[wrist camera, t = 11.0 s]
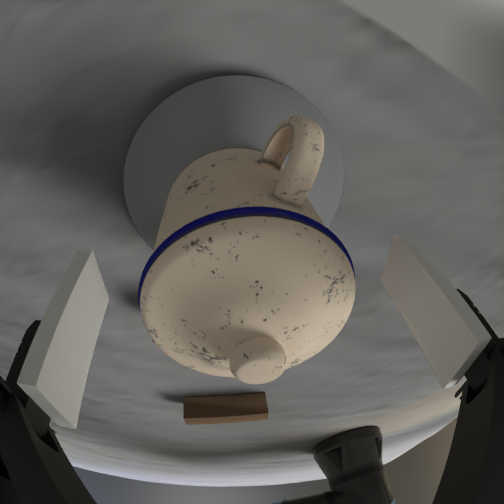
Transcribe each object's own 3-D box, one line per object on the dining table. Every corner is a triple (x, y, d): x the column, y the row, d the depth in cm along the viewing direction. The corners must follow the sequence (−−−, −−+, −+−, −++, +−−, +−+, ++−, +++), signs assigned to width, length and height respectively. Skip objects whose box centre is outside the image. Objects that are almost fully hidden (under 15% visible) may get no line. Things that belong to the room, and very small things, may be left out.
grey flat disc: (324, 264, 24) (328, 272, 23) (146, 275, 23) (144, 283, 22) (348, 81, 16) (354, 82, 15) (115, 86, 15) (110, 87, 14)
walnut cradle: (264, 399, 36) (267, 419, 34) (186, 404, 35) (186, 424, 33) (273, 291, 25) (280, 318, 23) (152, 298, 24) (147, 325, 22)
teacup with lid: (270, 280, 23) (306, 425, 14) (150, 250, 20) (118, 407, 11) (348, 133, 17) (481, 233, 8) (205, 74, 14) (189, 92, 5)
